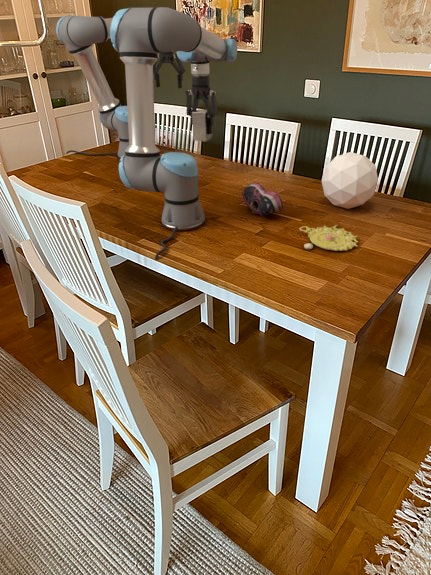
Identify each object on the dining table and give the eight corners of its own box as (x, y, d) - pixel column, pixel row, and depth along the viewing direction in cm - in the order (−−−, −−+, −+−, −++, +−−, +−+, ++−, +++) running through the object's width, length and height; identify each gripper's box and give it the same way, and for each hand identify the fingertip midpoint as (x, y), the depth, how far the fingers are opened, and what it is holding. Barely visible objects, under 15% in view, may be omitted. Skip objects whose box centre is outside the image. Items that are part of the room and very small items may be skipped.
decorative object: (343, 255, 128) (285, 234, 139) (342, 262, 130) (284, 241, 140) (372, 230, 142) (317, 213, 152) (371, 237, 143) (316, 219, 153)
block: (199, 137, 199) (198, 109, 193) (212, 138, 197) (211, 110, 190) (193, 140, 194) (191, 112, 188) (206, 141, 192) (205, 112, 185)
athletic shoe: (254, 181, 170) (227, 189, 167) (283, 176, 151) (253, 185, 147) (260, 210, 173) (234, 218, 170) (290, 209, 154) (261, 219, 150)
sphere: (353, 227, 164) (368, 198, 145) (307, 200, 169) (316, 169, 150) (378, 190, 169) (396, 158, 150) (333, 165, 174) (345, 131, 155)
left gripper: (141, 43, 230) (145, 87, 241) (183, 43, 220) (186, 89, 232) (148, 42, 235) (153, 85, 247) (190, 42, 226) (192, 87, 238)
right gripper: (175, 75, 182) (179, 133, 194) (218, 76, 175) (219, 136, 187) (183, 73, 188) (187, 129, 200) (225, 74, 181) (226, 132, 193)
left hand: (169, 87), depth 239 cm, fingers open, 13 cm apart
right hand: (202, 132), depth 194 cm, fingers closed on block, 6 cm apart
